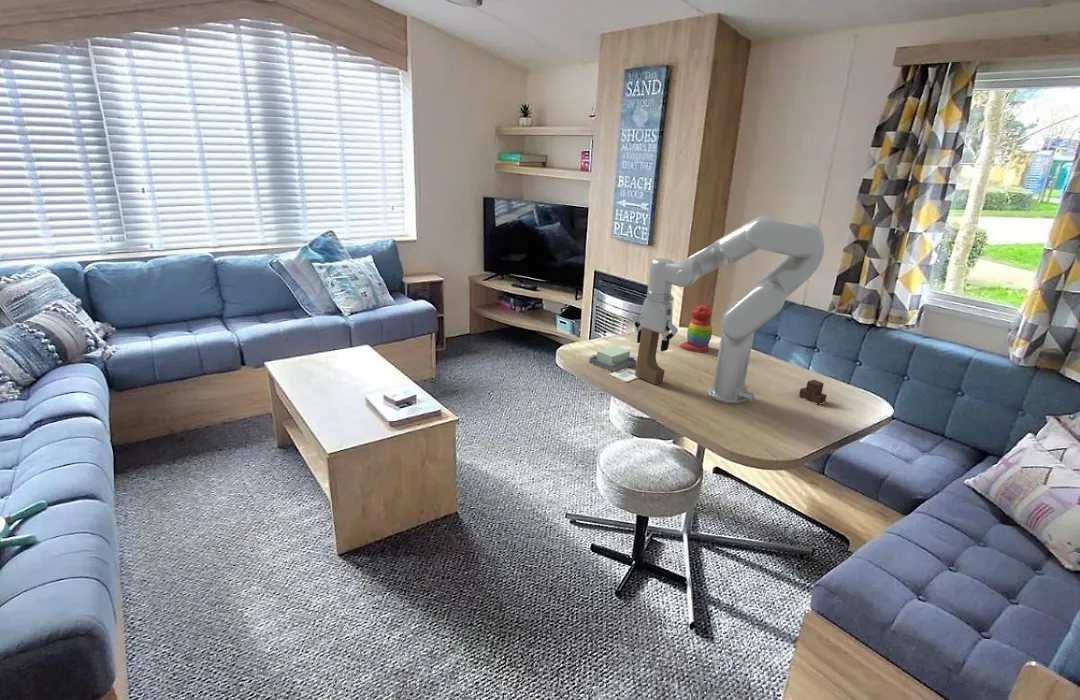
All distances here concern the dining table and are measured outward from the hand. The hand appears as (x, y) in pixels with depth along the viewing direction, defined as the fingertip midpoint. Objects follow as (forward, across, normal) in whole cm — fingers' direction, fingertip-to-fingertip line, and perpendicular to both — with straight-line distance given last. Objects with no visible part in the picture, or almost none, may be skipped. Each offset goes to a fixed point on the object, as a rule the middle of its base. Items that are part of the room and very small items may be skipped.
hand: (652, 346), depth 190 cm
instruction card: (+12, +7, +3) cm, 14 cm away
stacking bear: (+12, +8, -42) cm, 45 cm away
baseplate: (+12, +17, -1) cm, 21 cm away
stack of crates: (+12, -43, -32) cm, 55 cm away
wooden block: (+12, 0, 0) cm, 12 cm away
